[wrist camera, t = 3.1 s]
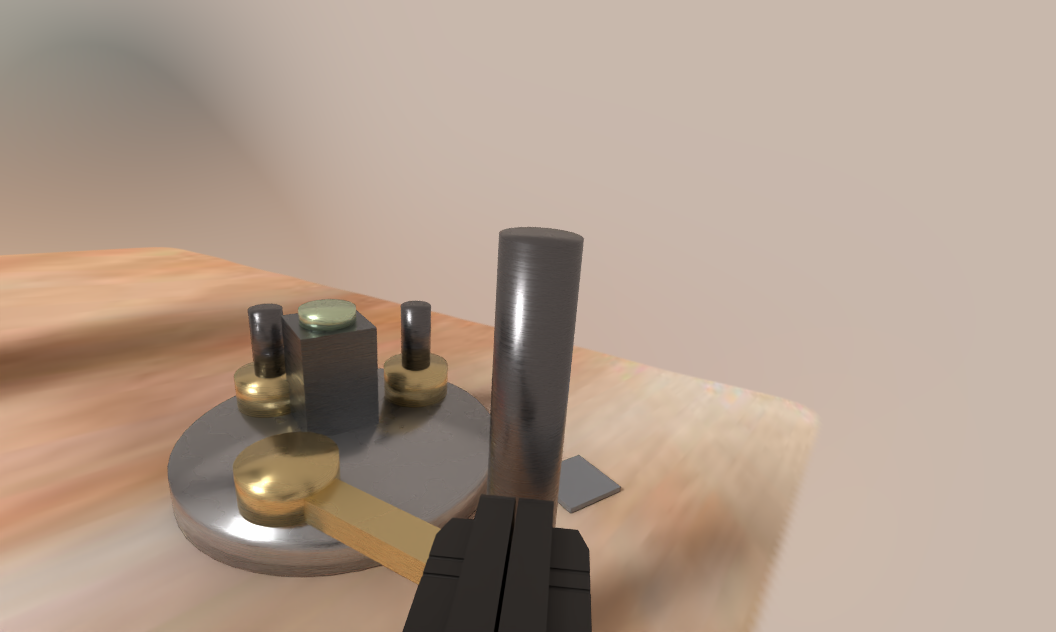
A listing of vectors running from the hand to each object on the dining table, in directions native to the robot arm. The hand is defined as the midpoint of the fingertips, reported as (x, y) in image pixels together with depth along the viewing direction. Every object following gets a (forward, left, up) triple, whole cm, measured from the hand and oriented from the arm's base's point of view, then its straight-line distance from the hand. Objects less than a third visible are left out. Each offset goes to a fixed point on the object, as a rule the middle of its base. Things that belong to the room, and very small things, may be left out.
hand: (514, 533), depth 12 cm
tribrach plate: (-20, +3, -11) cm, 24 cm away
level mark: (-12, +13, -11) cm, 21 cm away
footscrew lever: (-11, +1, -9) cm, 14 cm away
